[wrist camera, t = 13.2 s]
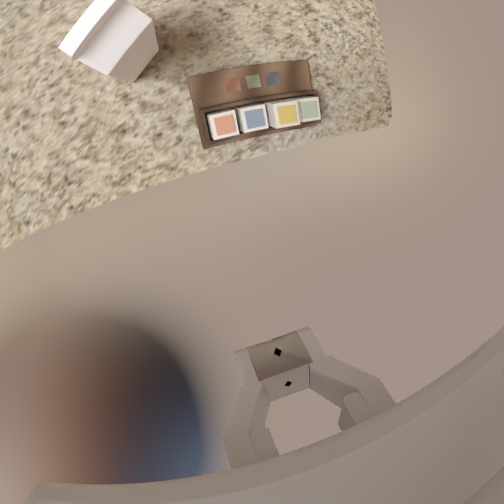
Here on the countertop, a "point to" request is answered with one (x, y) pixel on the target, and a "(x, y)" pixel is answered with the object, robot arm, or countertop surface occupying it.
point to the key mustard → (282, 113)
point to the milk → (113, 39)
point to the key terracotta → (222, 123)
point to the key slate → (251, 117)
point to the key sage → (308, 108)
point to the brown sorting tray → (248, 93)
